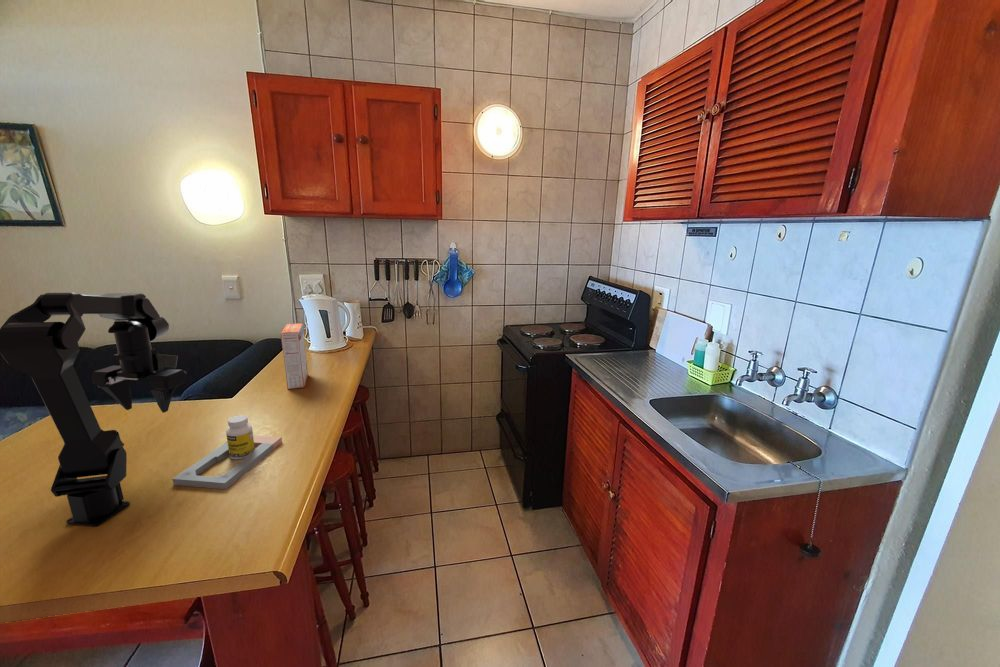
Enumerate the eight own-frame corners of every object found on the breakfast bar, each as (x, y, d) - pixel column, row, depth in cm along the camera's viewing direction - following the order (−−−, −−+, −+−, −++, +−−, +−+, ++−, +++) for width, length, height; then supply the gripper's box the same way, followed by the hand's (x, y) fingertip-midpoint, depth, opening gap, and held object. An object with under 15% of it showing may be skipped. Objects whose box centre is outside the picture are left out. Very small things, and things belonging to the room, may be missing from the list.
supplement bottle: (226, 461, 95) (220, 424, 93) (234, 449, 100) (229, 414, 98) (251, 458, 97) (246, 422, 94) (258, 447, 102) (253, 412, 99)
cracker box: (291, 376, 151) (286, 323, 146) (308, 375, 153) (304, 322, 148) (285, 389, 138) (279, 332, 133) (304, 388, 140) (299, 331, 135)
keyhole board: (225, 489, 85) (224, 483, 85) (173, 484, 86) (172, 478, 86) (282, 442, 105) (281, 437, 104) (239, 439, 105) (238, 433, 105)
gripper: (201, 340, 97) (210, 399, 101) (131, 336, 98) (142, 394, 102) (160, 354, 86) (172, 419, 90) (81, 349, 87) (96, 413, 91)
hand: (147, 410), depth 94 cm, fingers open, 9 cm apart
